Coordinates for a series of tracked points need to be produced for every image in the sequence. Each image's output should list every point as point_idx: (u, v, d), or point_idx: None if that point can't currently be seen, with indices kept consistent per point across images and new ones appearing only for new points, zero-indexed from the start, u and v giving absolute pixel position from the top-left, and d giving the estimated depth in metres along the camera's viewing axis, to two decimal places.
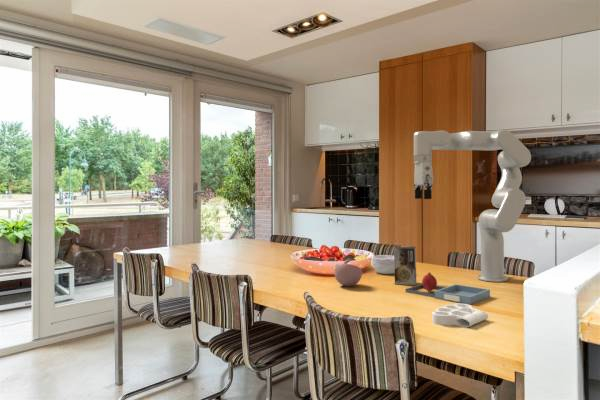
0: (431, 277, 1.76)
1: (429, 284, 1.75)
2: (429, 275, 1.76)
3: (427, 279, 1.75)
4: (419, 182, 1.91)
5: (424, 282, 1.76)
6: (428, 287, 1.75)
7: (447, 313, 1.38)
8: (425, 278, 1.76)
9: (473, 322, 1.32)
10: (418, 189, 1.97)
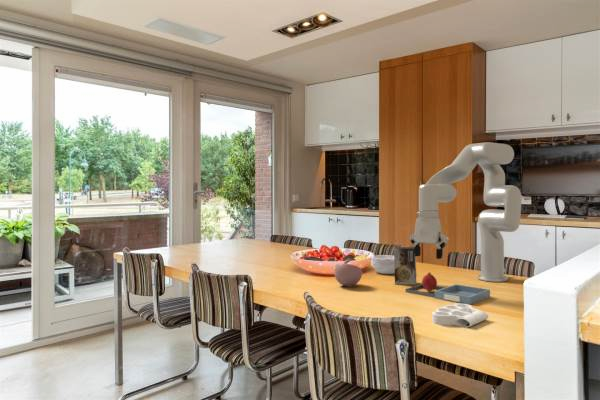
0: (431, 277, 1.76)
1: (429, 284, 1.75)
2: (429, 275, 1.76)
3: (427, 279, 1.75)
4: None
5: (424, 282, 1.76)
6: (428, 287, 1.75)
7: (447, 313, 1.38)
8: (425, 278, 1.76)
9: (473, 322, 1.32)
10: None
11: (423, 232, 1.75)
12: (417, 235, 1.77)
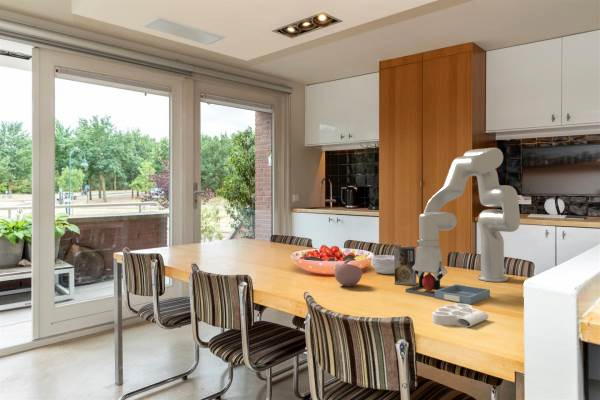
0: (431, 277, 1.76)
1: (430, 284, 1.75)
2: (429, 275, 1.76)
3: (427, 279, 1.75)
4: None
5: (424, 282, 1.76)
6: (428, 287, 1.75)
7: (447, 313, 1.38)
8: (425, 278, 1.76)
9: (473, 322, 1.32)
10: None
11: (424, 261, 1.76)
12: (418, 264, 1.78)
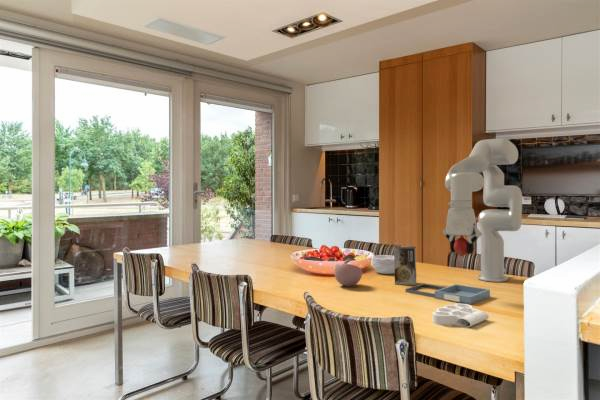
0: (464, 240, 1.65)
1: (462, 248, 1.64)
2: (462, 238, 1.66)
3: (460, 242, 1.65)
4: None
5: (456, 246, 1.65)
6: (460, 251, 1.65)
7: (447, 313, 1.38)
8: (457, 242, 1.66)
9: (474, 322, 1.32)
10: None
11: (456, 224, 1.65)
12: (450, 227, 1.67)
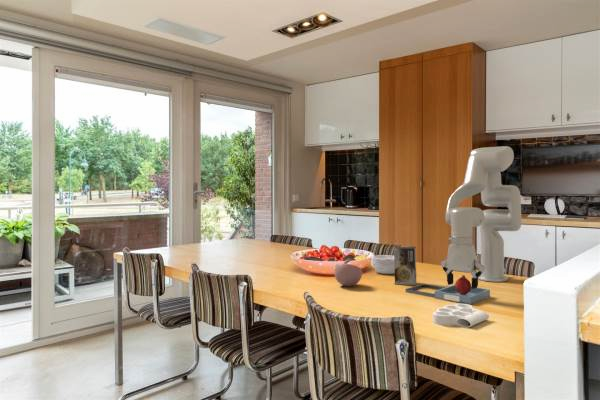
0: (465, 280, 1.65)
1: (464, 288, 1.64)
2: (463, 278, 1.66)
3: (461, 282, 1.65)
4: None
5: (458, 285, 1.66)
6: (462, 291, 1.65)
7: (448, 313, 1.38)
8: (459, 281, 1.66)
9: (474, 322, 1.32)
10: None
11: (457, 260, 1.65)
12: (450, 263, 1.67)
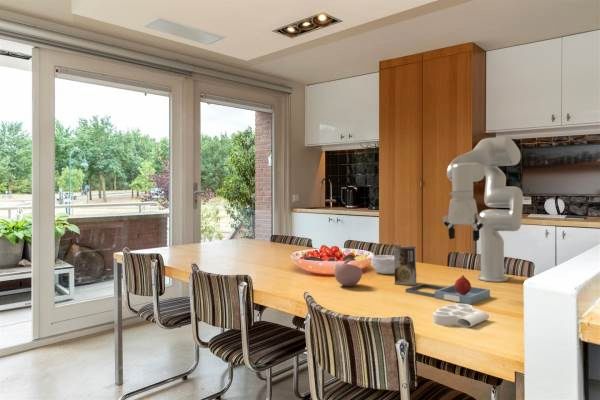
0: (465, 280, 1.65)
1: (463, 288, 1.64)
2: (463, 278, 1.66)
3: (461, 282, 1.65)
4: None
5: (457, 286, 1.66)
6: (462, 291, 1.65)
7: (448, 313, 1.38)
8: (458, 281, 1.66)
9: (474, 322, 1.32)
10: None
11: (458, 214, 1.68)
12: (452, 217, 1.70)
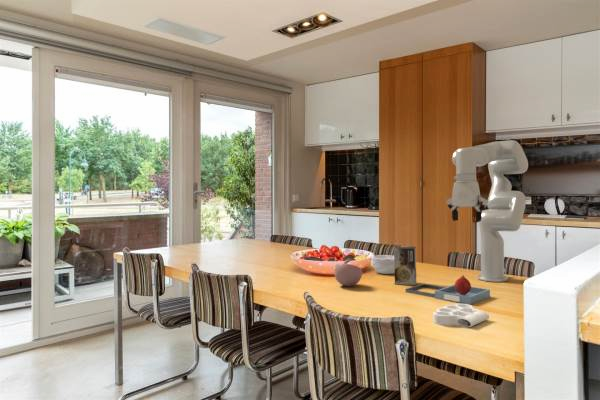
0: (465, 280, 1.65)
1: (463, 288, 1.64)
2: (463, 278, 1.66)
3: (461, 283, 1.65)
4: None
5: (457, 286, 1.66)
6: (462, 291, 1.65)
7: (448, 313, 1.38)
8: (458, 281, 1.66)
9: (474, 322, 1.32)
10: None
11: (461, 196, 1.76)
12: (455, 199, 1.78)
